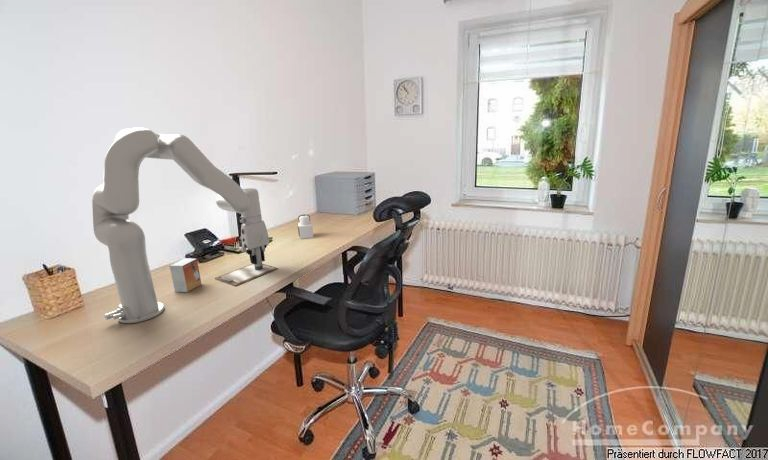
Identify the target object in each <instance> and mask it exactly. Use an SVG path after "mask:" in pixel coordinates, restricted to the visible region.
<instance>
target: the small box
mask: <svg viewBox="0 0 768 460" xmlns="http://www.w3.org/2000/svg"><path fill="white" fill-rule="evenodd" d="M169 269H170V271H169V272H170V275H171V280H172V285H173V289H174V292H175V293H177V292H178V293H189V292H190V291H191V290H193V289H195V288H197V287H198V286H201V285H202V279H201V274H200V273H201V272H200V269H199V263H198V259H197V258H189V257H188V258H187V257H184V258H182V259H181V260H178V261H176V262H175V263H172V264H169Z"/></svg>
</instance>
